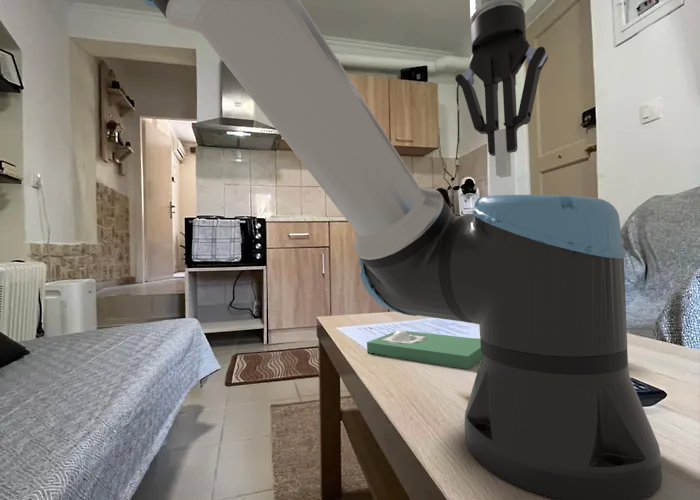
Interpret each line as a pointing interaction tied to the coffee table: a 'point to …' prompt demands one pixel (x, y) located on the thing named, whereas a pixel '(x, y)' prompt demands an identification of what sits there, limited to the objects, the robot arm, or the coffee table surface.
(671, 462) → the coffee table surface
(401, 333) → the ball
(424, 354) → the putting strip
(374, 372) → the coffee table surface
